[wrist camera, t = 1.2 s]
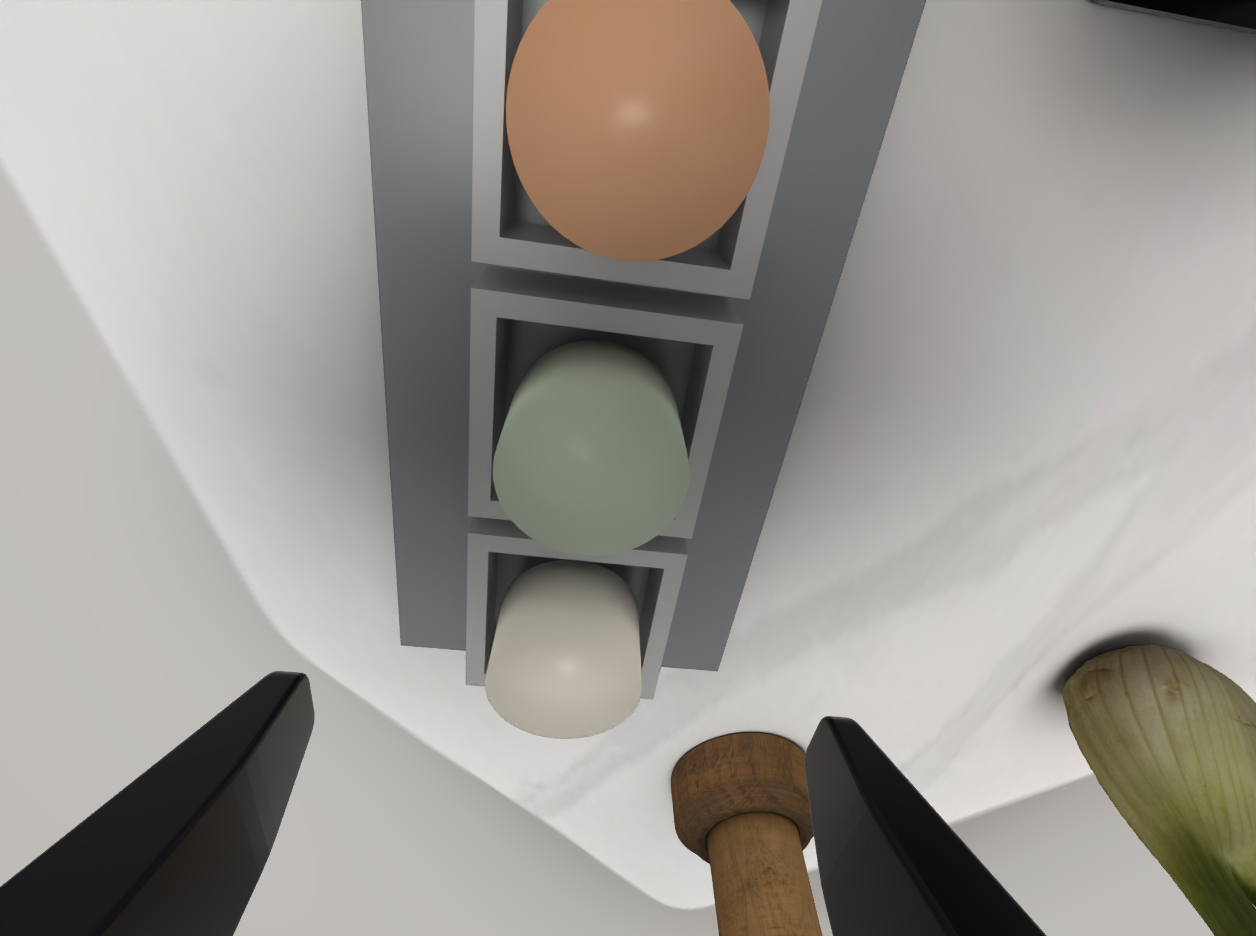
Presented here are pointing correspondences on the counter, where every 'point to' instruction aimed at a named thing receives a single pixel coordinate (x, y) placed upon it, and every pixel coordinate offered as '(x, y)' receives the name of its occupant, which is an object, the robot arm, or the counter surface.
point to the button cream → (566, 651)
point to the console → (602, 307)
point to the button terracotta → (637, 121)
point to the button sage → (592, 451)
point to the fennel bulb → (1177, 770)
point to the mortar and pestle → (749, 831)
